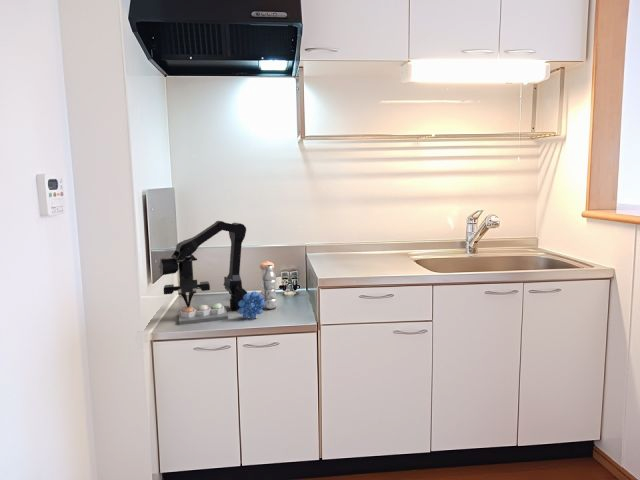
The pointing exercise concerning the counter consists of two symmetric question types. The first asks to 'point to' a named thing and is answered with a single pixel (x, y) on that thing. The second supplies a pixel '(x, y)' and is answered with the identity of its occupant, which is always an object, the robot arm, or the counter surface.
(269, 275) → the plastic bottle
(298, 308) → the counter surface
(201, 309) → the grey button
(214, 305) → the sage button
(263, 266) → the pepper shaker
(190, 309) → the terracotta button
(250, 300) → the grapes
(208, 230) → the robot arm
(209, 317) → the button panel
